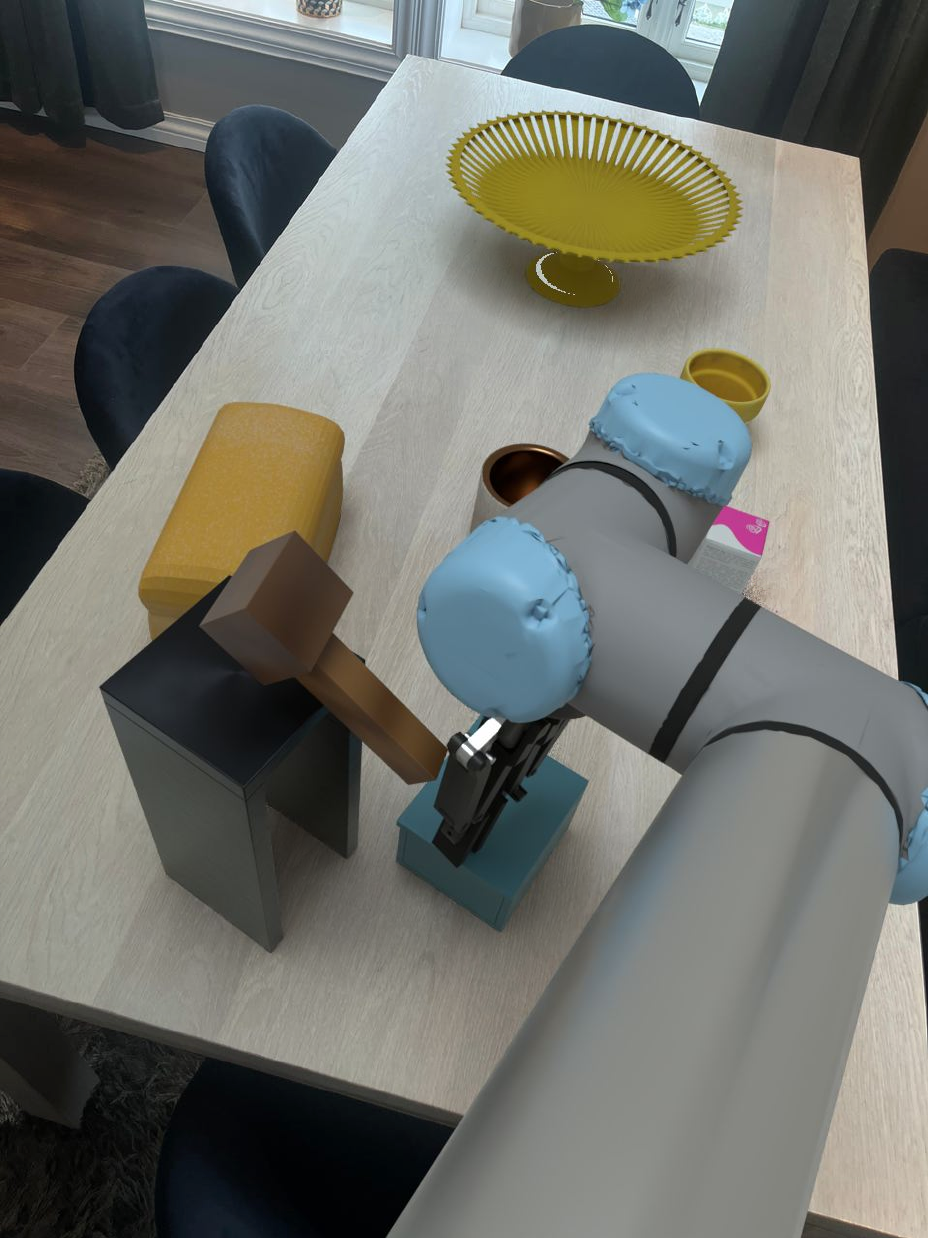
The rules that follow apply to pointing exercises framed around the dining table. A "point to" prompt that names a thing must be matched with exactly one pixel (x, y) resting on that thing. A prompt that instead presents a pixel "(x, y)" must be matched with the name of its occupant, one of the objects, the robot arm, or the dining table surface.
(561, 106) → the dining table surface
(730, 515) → the supplement box
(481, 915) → the caddy
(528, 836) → the lid
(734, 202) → the cake stand
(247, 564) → the mallet
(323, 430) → the bread
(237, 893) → the black arch block
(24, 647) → the dining table surface
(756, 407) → the flower pot
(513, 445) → the planter
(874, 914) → the robot arm
